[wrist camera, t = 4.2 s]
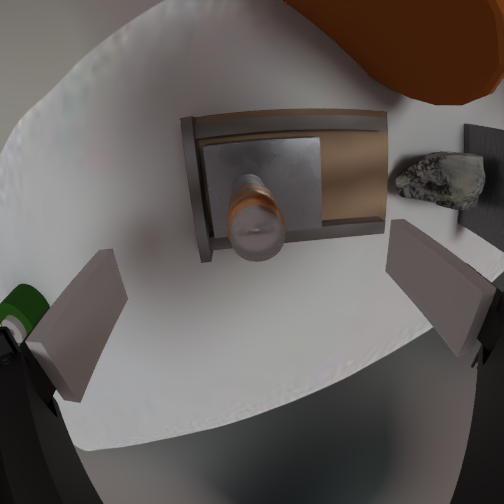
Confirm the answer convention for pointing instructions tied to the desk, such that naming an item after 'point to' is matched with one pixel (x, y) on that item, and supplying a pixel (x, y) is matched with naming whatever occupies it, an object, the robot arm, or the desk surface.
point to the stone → (444, 180)
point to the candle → (22, 310)
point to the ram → (263, 191)
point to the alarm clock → (419, 43)
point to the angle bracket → (487, 185)
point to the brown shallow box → (332, 166)
